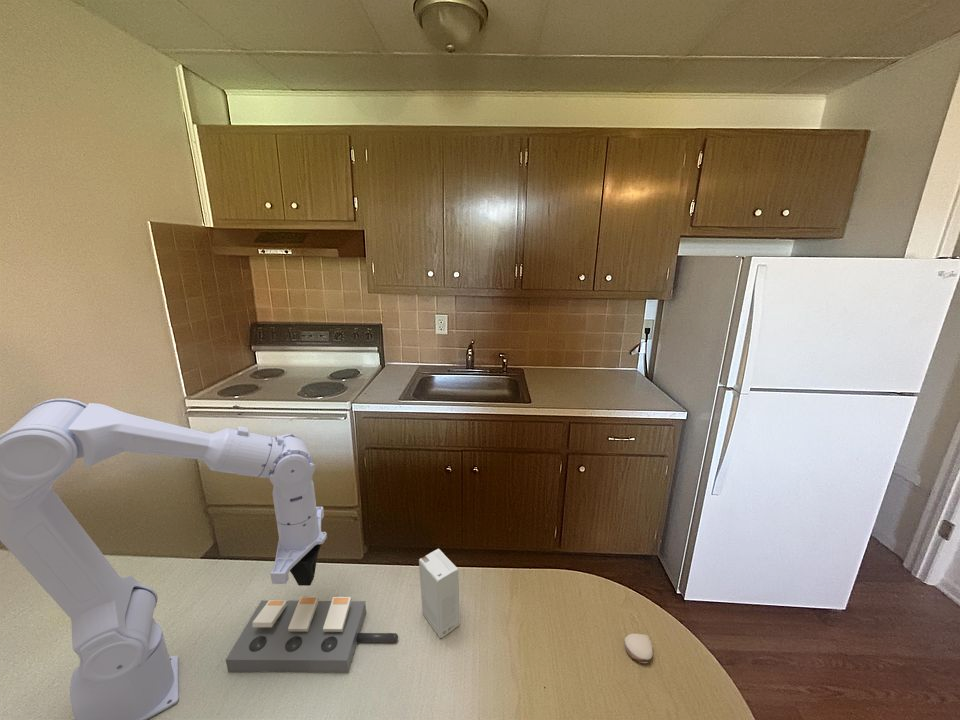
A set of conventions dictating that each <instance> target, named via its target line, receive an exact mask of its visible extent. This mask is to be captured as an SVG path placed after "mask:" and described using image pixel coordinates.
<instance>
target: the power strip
mask: <svg viewBox="0 0 960 720" xmlns="http://www.w3.org/2000/svg"><path fill="white" fill-rule="evenodd" d="M268 601H269V600H265V599H263V600H260V602H259V603H258V605H257V607H256V609H255V610H254V611H253V614H252V615H251V617H250V619H249V620H248V622H247V623H246V625H245V626H244V629H243V630H242V632H241V633H240V635H239V637H238V638H237V640H236V642H235V643H234V645H233V647H232V648H231V650H230V652H229V653H228V655H227V656H226V658H225V662H226V667H227V672H228V673H335V674H336V673H338V674H339V673H340V674H342V673H346V674H347V673H349V672H350V668H351V664H352V661H353V657H354V655H355V651H356V648H357V645H358V643H396V642H397V641H398V639H399V635H398V633H396V632H395V633H394V632H361V631H362V628H363V624H364V621H365V618H366V614H367V606H366V600H365V601H363V600H362V601H361V600H357V601H356V600H351V603H350V607H349V610H348V614H347V618H346V621H345V625H344V628H343V632H324V631H323V627H324V624H325V620H326V617H327V614H328V611H329V608H330V605H331V602H332V600H319V601H318V604H317V607H316V610H315V613H314V616H313V618H312V621H311V624H310V627H309V630H308V632H297V631H289V630H288V627H289V624H290V622H291V619H292V617H293V614H294V612H295V609H296V607H297V604H298V602H299V600H287V606H286V607H285V609H284V610H283V611H282V613H281V614H280V616H279V617H278V619H277V620H276V622H275V623H274V625H273V626H272V627H253V626H252V622H253V621H254V620H255V618H256V617H257V616H258V614H259V613H260V612H261V610H262V609H263V608H264V606H265V605H266V604H267V603H268Z"/></svg>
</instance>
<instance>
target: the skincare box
mask: <svg viewBox="0 0 960 720" xmlns="http://www.w3.org/2000/svg"><path fill="white" fill-rule="evenodd" d="M418 564H419V565H418V567H419V569H418V570H419V580H420V581H419V582H420V592H421V593H420V596H421V597H420V598H421V607H422V608H421V612H422V615H423V616H424V618H425V619H426V621H427V622H428V623H429V625H430V626H431V628H432V629H433V631H435V633H436V634H437V636H438V637H439V638H440V639H442V638H443V637H445V636H447V635H448V634H449V633H451V632H452V631H454V630H455V629H457V628H458V627H459V626H460V624H461V623H460V622H461V621H460V620H461V618H460V589H459V587H460V586H459V583H460V581H459V568H458V567H457V566H456V565H455V564H454V563H453V562H452V561H451V560H450V559H449V558H448V557H447V556H446V555H445V553H444V552H443V551H442V550H441V549H440V548H437V549H435V550H433V551H431V552H429V553H428V554H426V555H425V556H423V557H420V558H419V559H418Z"/></svg>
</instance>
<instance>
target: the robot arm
mask: <svg viewBox="0 0 960 720" xmlns="http://www.w3.org/2000/svg"><path fill="white" fill-rule="evenodd" d="M126 452H127V453H136V454H146V455H147V454H148V455H156V456H165V457H177V458H184V459H193V460H202V461H203V462H204V464H206V466H207V467H208V468H209V470H210V471H215V472H220V473H226V474H233V475H240V476H247V477H254V478H263V479H267V478H268V479H269V481H270V483H271V484H272V485H273V489H272V492H271V493H272V494H271V495H272V501H273V506H274V513H275V519H276V520H275V521H276V526H277V527H276V528H277V533H278V542H277V547H276V553H275V559H274V566H273V568H272V569H271V572H270V579H271V584H272V585H275V584H276V585H284V584H285V585H286V584H287V583H288V581H289V580H290V577H289V572H290V573H291V575H292V577H293V578H294V580H295V582H296V584H297V585H298V586H300V587H301V586H302V587H303V586H304V587H305V586H312V583H313V581H314V579H315V575H316V568H317V567H316V566H317V561H318V555H319V552H320V549H321V546H322V544H324V543H325V541H326V539H327V538H328V535H327V534H328V533H327V532H326V531H322V520H323V518H324V517H325V512H324V511H325V510H324V506H317V501H316V491H315V485H314V481H313V475H314V473H315V471H316V464H314V461H313V459H312V456H311V453H310V451H309V448H308V446H307V444H306V442H305V441H304V440H303V439H302V438H301V437H299V436H296V435H294V434H293V433H286V434H283V435H278V434H277V435H276V436H275V437H274V436H269V435H264V434H259V433H253V432H249V427H248V426H247V427H246V426H242V425H239V426H237V428H229V427H225V428H222V429H221V430H218V431H216V432H213V433H209V432H206V431H201V430H198V429H193V428H190V427H189V428H188V427H185V426H181V425H177V424H172V423H169V422H165V421H161V420H156V419H153V418H148V417H143V416H140V415H135V414H132V413H128V412H125V411H121V410H119V409H117V408H114V407H112V406H110V405H107V404H103V403H94V402H93V403H92V402H89V403H88V404H87V403H85V402H82V401H79V400H76V399H74V398H65V397H64V398H52V399H48V400H44V401H41V402H39V403H37V404H35V405H34V406H32V407H31V408H30V409H29V410H27V412H25V414H24V415H23V416H22V417H21V419H19V420H18V421H17V422H16V423H14V425H12V426H11V428H9V429H8V430H7V431H5V432H3V433H1V434H0V542H1V544H3V545H4V546H5V548H6V549H7V550H8V551H9V552H10V553H11V554H12V555H13V556H14V557H15V559H16V560H17V561H18V562H19V563H20V564H21V565H22V567H24V568H25V570H26V571H27V572H28V573H29V574H30V575H31V576H32V577H33V579H34V580H35V581H36V582H37V583H38V584H39V585H40V586H41V587H42V589H43V590H44V591H45V592H46V593H47V594H48V595H49V597H51V598H52V600H53V601H54V602H55V603H56V604H57V605H58V606H59V607H60V609H61V610H62V611H63V612H64V613H65V614H66V615H67V616H68V618H70V622H71V624H70V625H71V640H72V641H71V644H72V650H73V652H74V653H75V654H76V655H77V656H78V659H79V666H77V667H76V668H75V669H74V670H73V671H72V674H71V678H70V685H69V698H70V700H69V701H70V705H71V706H70V707H71V710H72V713H73V717H74V719H75V720H148V719H150V718H153V717H154V716H155V715H157V714H159V713H161V712H163V711H165V710H166V709H169V708H170V707H172V706H174V705H176V704H177V703H178V702H179V699H180V697H179V696H180V695H179V693H180V691H179V689H180V688H179V686H180V685H179V683H180V682H179V656H178V655H177V654H175V655H173V656H170V655H169V652H168V651H169V650H168V648H167V644H166V640H165V637H164V632H163V629H162V627H161V625H160V624H159V622H157V621H156V620H155V619H154V614H155V613H154V612H155V608H156V607H157V603H158V594H157V593H158V592H156V589H154V588H153V587H151V586H148V585H145V584H142V583H140V582H139V581H137V579H136V578H135V577H134V576H133V575H128V576H123V577H121V576H120V575H119V573H118V572H117V570H116V569H115V568H114V567H113V565H112V564H111V563H110V561H109V560H108V559H107V557H106V556H105V555H104V553H103V552H102V551H101V550H100V549H99V547H98V546H97V545H96V543H95V542H94V541H93V539H92V538H91V537H90V535H89V534H88V533H87V532H86V531H85V529H84V528H83V526H82V525H81V524H80V522H79V521H78V520H77V518H75V516H74V515H73V513H72V511H70V510H69V508H68V507H67V506H66V504H65V503H64V502H63V500H62V499H61V498H60V496H59V495H58V494H57V492H55V490H54V489H53V486H54V484H55V482H56V481H57V480H59V479H60V478H61V477H62V476H63V475H65V474H66V473H68V471H70V470H71V468H72V467H74V465H75V463H76V461H77V459H81V458H82V459H83V468H89V467H91V466H93V465H94V466H95V465H96V464H99V463H100V462H103V461H104V460H107V459H109V458H112V457H114V456H116V455H118V454H121V453H126Z"/></svg>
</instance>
